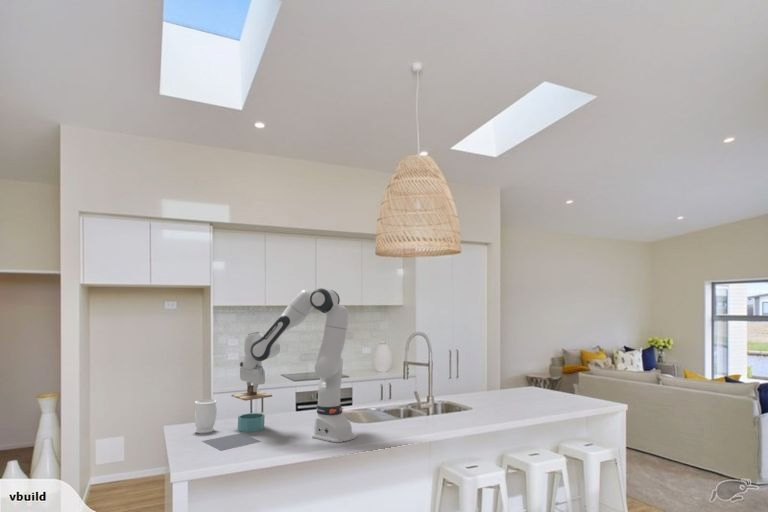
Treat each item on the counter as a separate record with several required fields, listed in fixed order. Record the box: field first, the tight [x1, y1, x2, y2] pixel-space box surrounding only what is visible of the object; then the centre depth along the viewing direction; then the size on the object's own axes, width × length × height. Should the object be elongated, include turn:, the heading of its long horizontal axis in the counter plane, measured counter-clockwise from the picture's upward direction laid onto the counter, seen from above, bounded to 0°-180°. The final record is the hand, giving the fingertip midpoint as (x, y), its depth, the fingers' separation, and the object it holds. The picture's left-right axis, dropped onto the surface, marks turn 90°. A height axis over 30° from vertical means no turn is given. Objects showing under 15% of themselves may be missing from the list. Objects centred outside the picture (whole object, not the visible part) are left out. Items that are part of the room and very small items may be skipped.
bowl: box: [237, 412, 265, 433], centre depth 247 cm, size 13×13×6 cm
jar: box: [194, 398, 218, 434], centre depth 243 cm, size 11×10×15 cm
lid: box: [231, 384, 273, 402], centre depth 248 cm, size 15×15×5 cm
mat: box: [201, 432, 263, 452], centre depth 224 cm, size 20×20×1 cm
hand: (252, 391), depth 248 cm, fingers closed on lid, 3 cm apart
